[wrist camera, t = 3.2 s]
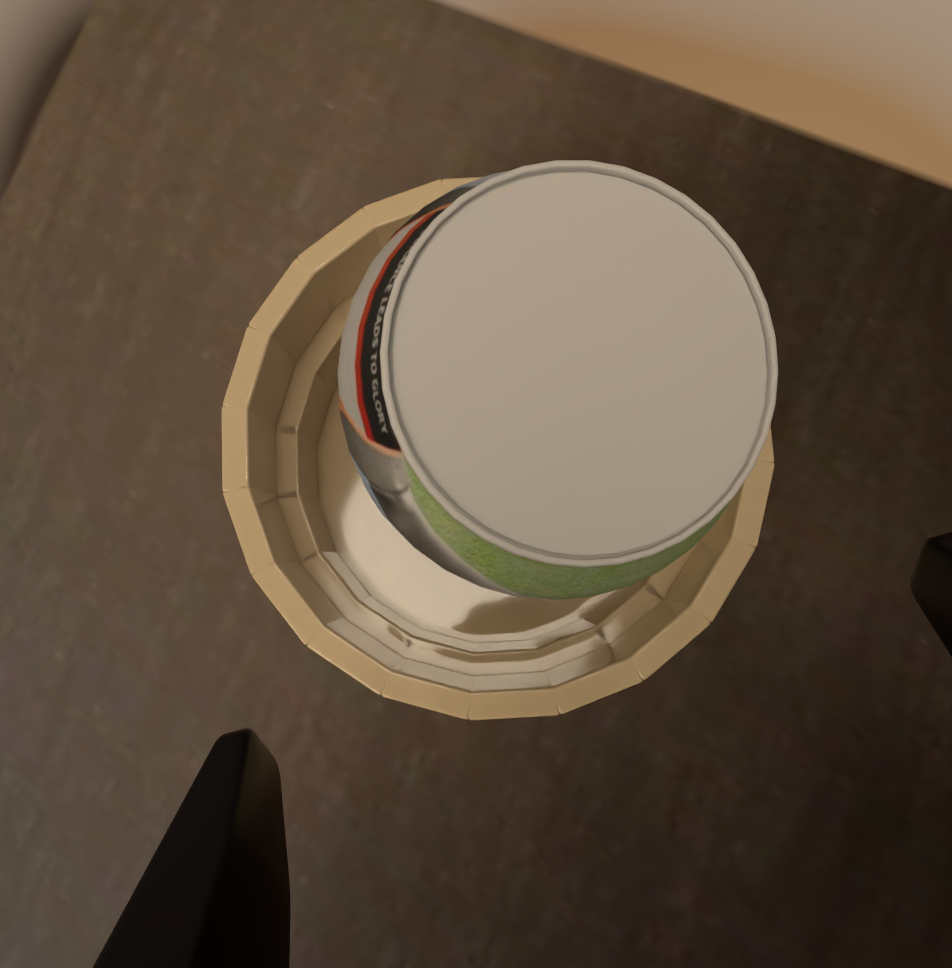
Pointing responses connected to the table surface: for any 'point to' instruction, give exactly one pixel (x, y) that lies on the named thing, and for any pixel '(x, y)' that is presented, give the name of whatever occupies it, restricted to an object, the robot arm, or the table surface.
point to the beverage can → (557, 378)
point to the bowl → (393, 560)
